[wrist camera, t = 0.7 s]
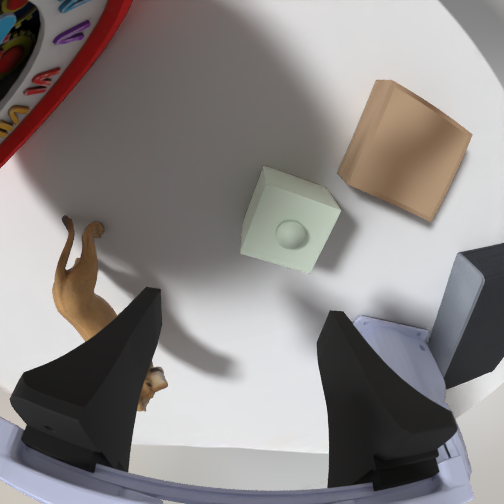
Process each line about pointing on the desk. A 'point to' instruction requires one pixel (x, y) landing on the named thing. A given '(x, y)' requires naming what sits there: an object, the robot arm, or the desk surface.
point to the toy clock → (47, 58)
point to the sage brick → (288, 220)
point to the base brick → (404, 150)
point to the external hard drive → (471, 317)
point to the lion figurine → (91, 299)
